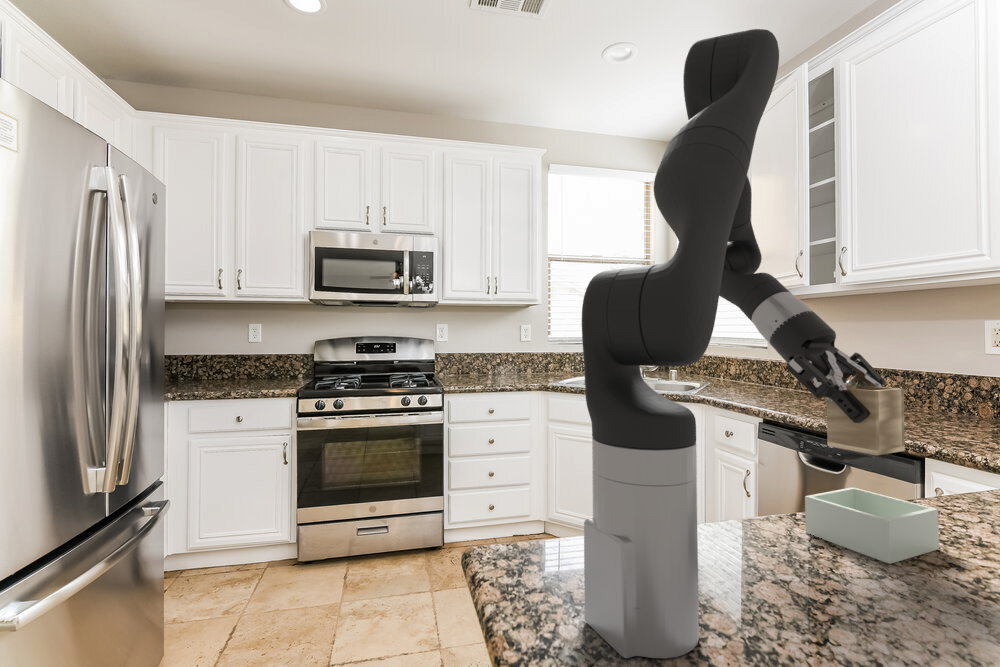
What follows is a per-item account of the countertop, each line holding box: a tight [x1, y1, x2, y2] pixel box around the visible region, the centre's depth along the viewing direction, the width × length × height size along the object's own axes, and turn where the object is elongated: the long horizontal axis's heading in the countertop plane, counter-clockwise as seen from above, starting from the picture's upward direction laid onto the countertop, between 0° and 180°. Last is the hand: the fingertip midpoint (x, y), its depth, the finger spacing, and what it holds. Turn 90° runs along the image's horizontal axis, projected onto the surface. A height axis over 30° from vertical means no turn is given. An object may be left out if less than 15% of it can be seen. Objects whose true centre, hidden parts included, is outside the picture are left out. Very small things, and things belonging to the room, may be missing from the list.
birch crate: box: [826, 384, 906, 456], centre depth 64 cm, size 6×6×8 cm
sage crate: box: [804, 486, 940, 565], centre depth 64 cm, size 10×10×5 cm
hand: (879, 417), depth 63 cm, fingers closed on birch crate, 6 cm apart
